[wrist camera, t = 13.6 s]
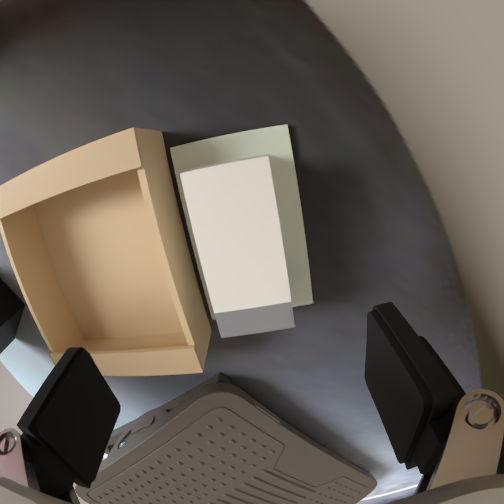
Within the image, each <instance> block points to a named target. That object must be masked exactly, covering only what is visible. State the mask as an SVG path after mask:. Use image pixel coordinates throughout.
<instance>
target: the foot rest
mask: <svg viewBox="0 0 504 504" xmlns="http://www.w3.org/2000/svg"><path fill="white" fill-rule="evenodd" d="M230 381H231V380H230V379H229V378H228V377H227V376H225V375H224V374H223V373H221V372H220V374H217V375H215V376H214V377H212V378H210V379H209V380H207V381H205V382H203V383H202V384H200V385H198V386H197V387H195V388H193V389H191V390H190V391H188V392H186V393H184V394H182V395H181V396H179V397H177V398H175V399H173V400H172V401H170V402H168V403H166V404H164V405H162V406H161V407H159V408H157V409H154V410H151V411H149V412H147V413H145V414H143V415H142V416H140V417H139V418H137V419H135V420H134V421H132V422H129V423H127V424H125V425H123V426H121V427H119V428H117V429H115V430H113V431H112V434H111V437H110V439H109V442H108V445H107V447H106V450H105V453H106V454H108V457H107V458H106V459H105V460H103V461H102V462H101V464H100V467H99V470H98V473H97V476H96V479H95V480H94V481H93V482H92V483H91V486H90V489H89V488H85V487H81V486H78V485H77V484H76V487H75V491H76V493H77V494H78V496H79V497H81V498H82V499H83V500H84V501H86V502H88V503H89V504H356V503H357V502H359V501H360V500H362V499H363V498H364V497H366V496H367V495H368V494H369V493H371V492H372V491H373V490H374V489H375V487H376V486H377V481H376V480H375V478H374V477H373V476H372V475H371V474H370V473H369V472H368V471H364V470H362V469H361V468H359V467H357V466H355V465H353V464H352V463H350V462H348V461H347V460H345V459H343V458H341V457H340V456H338V455H336V454H335V453H333V452H331V451H330V450H328V449H326V448H325V447H323V446H322V445H320V444H318V443H317V442H315V441H314V440H312V439H311V438H309V437H307V436H306V435H304V434H303V433H301V432H300V431H298V430H297V429H295V428H294V427H292V426H291V425H289V424H288V423H287V422H285V421H284V420H282V419H281V418H279V417H278V416H277V415H275V414H274V413H272V412H271V411H270V410H268V409H267V408H265V407H264V406H263V405H261V404H260V403H259V402H257V401H256V400H254V399H253V398H252V397H250V396H249V395H248V394H247V393H245V392H244V391H243V390H241V389H239V388H238V387H236V386H234V385H232V384H230ZM122 441H124V442H125V443H124V444H123V446H122V447H121V448H119V445H120V443H121V442H122ZM113 444H114V446H112V445H113Z"/></svg>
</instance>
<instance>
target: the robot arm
mask: <svg viewBox="0 0 504 504" xmlns="http://www.w3.org/2000/svg"><path fill="white" fill-rule="evenodd" d="M365 381H366V384H367V386H368V389H369V391H370V393H371V396H372V398H373V401H374V403H375V405H376V408H377V410H378V412H379V415H380V417H381V420H382V422H383V425H384V427H385V430H386V432H387V435H388V437H389V440H390V442H391V445H392V447H393V450H394V452H395V455H396V457H397V460H398V462H399V463H400V464H401V463H405V465H406V468H407V470H408V469H411V468H413V467H416V466H418V469H419V471H420V473H421V474H423V475H422V477H421V480H420V482H419V484H418V486H417V489H416V491H415V493H414V495H412V496H409V497H406V498H403V499H400V500H396V501H393V502H390V503H387V504H504V402H503V400H502V399H501V398H500V397H499V395H497V394H495V393H494V392H492V391H488V390H475V391H471V392H469V393H468V394H466V393H465V392H464V390H463V389H462V387H461V386H460V385H459V383H458V382H457V380H456V379H455V378H454V376H453V375H452V373H451V372H450V371H449V369H448V368H447V367H446V365H445V364H444V362H443V361H442V360H441V358H440V357H439V356H438V354H437V353H436V352H435V350H434V349H433V348H432V346H431V345H430V344H429V343H428V341H427V340H426V339H425V338H424V337H422V336H418V335H417V334H416V332H415V331H414V330H413V328H412V327H411V326H410V325H409V323H408V322H407V321H406V319H405V318H404V317H403V316H402V314H401V313H400V312H399V311H398V309H397V308H396V307H395V306H394V304H393V303H392V302H389V303H385V304H381V305H377V306H374V307H373V310H372V312H369V313H368V316H367V345H366V363H365ZM119 413H120V403H119V401H118V400H117V398H116V397H115V395H114V394H113V392H112V391H111V389H110V387H109V386H108V384H107V382H106V381H105V379H104V378H103V376H102V374H101V372H100V371H99V369H98V367H97V366H96V364H95V362H94V360H93V358H92V357H91V355H90V353H89V352H88V351H86V350H85V349H84V348H83V347H70V348H68V349H67V350H66V351H65V353H64V354H63V355H62V357H61V358H60V360H59V361H58V363H57V364H56V365H55V367H54V368H53V370H52V371H51V373H50V374H49V375H48V377H47V378H46V380H45V381H44V383H43V384H42V386H41V387H40V389H39V390H38V392H37V393H36V395H35V397H34V398H33V400H32V401H31V403H30V404H29V406H28V408H27V409H26V411H25V412H24V414H23V416H22V417H21V419H20V421H19V422H18V424H17V426H18V427H19V429H20V430H21V431H22V432H23V434H22V435H20V433H19V432H18V431H17V430H15V429H12V428H10V429H5V430H3V431H2V432H0V504H80V502H79V500H78V498H77V495H76V492H75V490H74V487H73V483H74V482H75V483H76V484H77V485H78V486H81V487H85V488H89V489H90V486H91V483H92V482H93V481H94V480H95V479H96V476H97V473H98V470H99V467H100V464H101V461H102V459H103V456H104V453H105V450H106V447H107V445H108V442H109V439H110V437H111V434H112V431H113V429H114V426H115V423H116V421H117V418H118V416H119Z"/></svg>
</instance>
